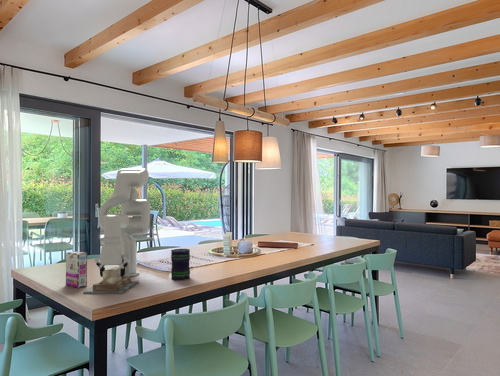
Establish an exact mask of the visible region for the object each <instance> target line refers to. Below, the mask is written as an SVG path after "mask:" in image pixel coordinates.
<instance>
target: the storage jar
mask: <svg viewBox="0 0 500 376" xmlns="http://www.w3.org/2000/svg"><path fill="white" fill-rule="evenodd" d="M190 250H191V249H190V248H189V249H188V248H175V249H171V250H170V251H171V253H170V254H171V255H170V257H171V259H170V260H171V269H170V270H171V271H170V274H171V280H172V281H178V282H179V281H187V280H190V278H191V276H190V275H191V268H190V267H191V266H190V260H191V258H190V257H191V255H190V254H191V252H190Z"/></svg>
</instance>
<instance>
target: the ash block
mask: <svg viewBox="0 0 500 376" xmlns="http://www.w3.org/2000/svg"><path fill="white" fill-rule="evenodd" d="M120 269H121V267H118V266H112V267H109V268H108V269H105V271H103V277H102V280H103V284H116V283H118V282H119V281H121V280H122V277H120Z"/></svg>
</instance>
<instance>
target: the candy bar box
mask: <svg viewBox="0 0 500 376" xmlns="http://www.w3.org/2000/svg"><path fill="white" fill-rule="evenodd" d="M65 286H68V287H72V288H77V289H80V288H85V287H87V286H88V252H85V251H84V252H83V251H73V250H72V251H67V252H65Z"/></svg>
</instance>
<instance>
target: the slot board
mask: <svg viewBox="0 0 500 376" xmlns="http://www.w3.org/2000/svg"><path fill="white" fill-rule="evenodd" d="M139 283H140V281H139V280H132V276H130V277H122V280H121V281H119V282H118V283H116V284H103V279H101V280H100V281H98V282H96V283H94V284H92V287H89V288H87V289H86V290H84V291H83V294H85V295H87V294H88V295H91V294H93V295H96V294H97V295H124V293H126V292H127V291H129V290H130V289H132V288H134V287H135V286H136V285H137V284H139Z"/></svg>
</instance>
